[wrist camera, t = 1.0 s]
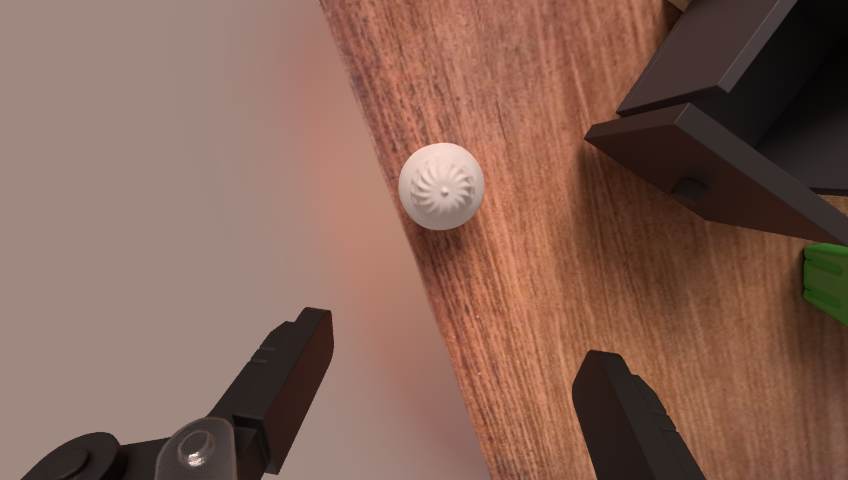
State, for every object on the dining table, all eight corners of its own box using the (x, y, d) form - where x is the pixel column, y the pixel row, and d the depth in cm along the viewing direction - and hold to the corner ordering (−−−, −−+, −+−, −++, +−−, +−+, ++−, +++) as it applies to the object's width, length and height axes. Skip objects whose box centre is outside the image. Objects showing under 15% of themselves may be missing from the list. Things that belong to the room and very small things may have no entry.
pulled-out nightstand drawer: (695, 232, 26) (832, 266, 17) (573, 152, 24) (657, 145, 16) (840, 50, 23) (1093, -20, 14) (711, -55, 21) (910, -204, 13)
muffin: (457, 232, 27) (470, 255, 20) (390, 205, 26) (379, 220, 19) (488, 163, 25) (513, 162, 19) (417, 133, 25) (417, 121, 18)
